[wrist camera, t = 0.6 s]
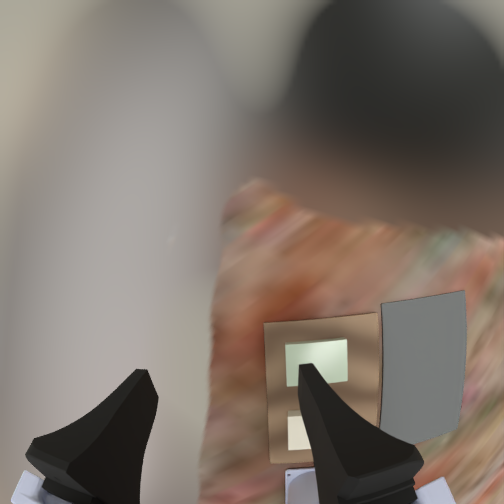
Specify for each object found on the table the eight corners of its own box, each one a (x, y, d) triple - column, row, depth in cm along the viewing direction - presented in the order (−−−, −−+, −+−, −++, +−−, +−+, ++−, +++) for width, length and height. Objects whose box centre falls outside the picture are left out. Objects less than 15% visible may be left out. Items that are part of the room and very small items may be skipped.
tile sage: (344, 376, 29) (347, 380, 27) (287, 381, 30) (286, 386, 28) (343, 337, 30) (346, 339, 28) (285, 342, 31) (285, 344, 29)
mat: (455, 427, 25) (457, 428, 25) (376, 452, 27) (377, 453, 27) (463, 290, 30) (464, 290, 29) (380, 303, 32) (381, 303, 31)
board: (370, 448, 28) (373, 452, 26) (270, 458, 29) (269, 463, 28) (374, 312, 32) (377, 312, 30) (264, 322, 33) (263, 323, 32)
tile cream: (342, 438, 27) (345, 445, 25) (288, 443, 28) (288, 450, 26) (344, 405, 28) (347, 411, 26) (288, 410, 29) (287, 416, 27)
